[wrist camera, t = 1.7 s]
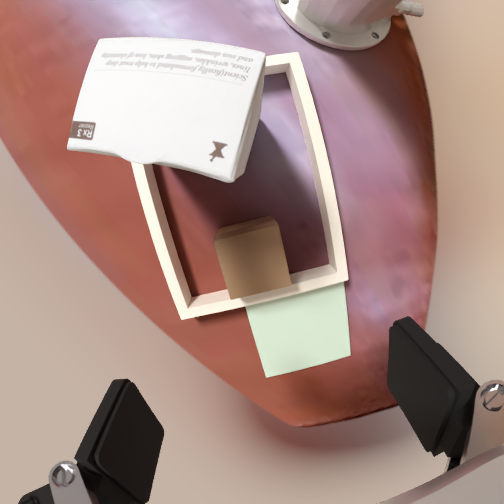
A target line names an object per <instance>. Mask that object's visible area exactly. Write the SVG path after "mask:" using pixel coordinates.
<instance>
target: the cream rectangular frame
mask: <svg viewBox="0 0 504 504" xmlns="http://www.w3.org/2000/svg"><path fill="white" fill-rule="evenodd" d="M283 72H286V75H287V78H288V81H289V85H290V88H291V92H292V95H293V99H294V102H295V106H296V109H297V113H298V117H299V120H300V124H301V128H302V132H303V136H304V140H305V144H306V148H307V152H308V157H309V161H310V165H311V170H312V174H313V179H314V183H315V188H316V193H317V198H318V203H319V208H320V213H321V218H322V223H323V229H324V234H325V240H326V246H327V252H328V258H329V264H328V265H324V266H320V267H316V268H312V269H309V270H305V271H301V272H297V273H293V274H289V275H290V280H291V285H292V286H288V287H284V288H280V289H276V290H272V291H267V292H263V293H259V294H255V295H250V296H246V297H242V298H237V299H233V300H231V299H230V296H229V293H228V289H226V290H222V291H217V292H213V293H209V294H204V295H200V296H195V297H192V296H191V293H190V290H189V287H188V284H187V281H186V278H185V276H184V273H183V270H182V266H181V263H180V260H179V257H178V254H177V251H176V248H175V245H174V241H173V238H172V235H171V232H170V228H169V225H168V222H167V218H166V215H165V211H164V208H163V204H162V201H161V197H160V194H159V190H158V186H157V182H156V179H155V175H154V171H153V167H152V164H138V163H134V162H131V164H132V168H133V172H134V176H135V180H136V183H137V187H138V191H139V195H140V198H141V202H142V205H143V209H144V212H145V216H146V219H147V222H148V226H149V229H150V232H151V235H152V239H153V242H154V245H155V248H156V251H157V254H158V257H159V260H160V263H161V266H162V269H163V272H164V275H165V277H166V280H167V283H168V286H169V289H170V291H171V294H172V297H173V299H174V302H175V305H176V307H177V310H178V312H179V315H180V318H181V320H183V319H188V318H193V317H198V316H203V315H207V314H212V313H217V312H222V311H226V310H231V309H235V308H240V307H244V306H249V305H253V304H257V303H261V302H266V301H270V300H274V299H278V298H282V297H286V296H290V295H294V294H298V293H302V292H306V291H310V290H313V289H317V288H321V287H325V286H328V285H332V284H336V283H339V282H343V281H346V280H349V279H348V271H347V263H346V256H345V249H344V242H343V236H342V229H341V223H340V217H339V212H338V206H337V201H336V195H335V190H334V185H333V180H332V175H331V171H330V166H329V161H328V157H327V153H326V148H325V144H324V140H323V136H322V132H321V128H320V124H319V120H318V116H317V113H316V109H315V105H314V102H313V98H312V95H311V91H310V88H309V85H308V81H307V78H306V75H305V72H304V69H303V65H302V62H301V59H300V56H299V53H298V52H293V53H285V54H278V55H271V56H266V66H265V75H271V74H277V73H283Z"/></svg>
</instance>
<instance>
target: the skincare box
mask: <svg viewBox="0 0 504 504" xmlns="http://www.w3.org/2000/svg"><path fill="white" fill-rule="evenodd" d="M265 66H266V53H264V52H260V51H256V50H252V49H247V48H241V47H236V46H230V45H225V44H219V43H212V42H204V41H196V40H187V39H174V38H154V37H126V38H105V39H100V40H99V41H98V43H97V46H96V48H95V50H94V53H93V55H92V58H91V61H90V63H89V66H88V69H87V72H86V75H85V78H84V82H83V85H82V88H81V91H80V95H79V98H78V102H77V105H76V109H75V113H74V117H73V122H72V127H71V132H70V136H69V141H68V145H67V149H68V150H73V151H82V152H90V153H97V154H103V155H109V156H115V157H121V158H124V159H125V160H127V161H130V162H134V163H138V164H157V165H163V166H168V167H173V168H178V169H183V170H187V171H191V172H195V173H199V174H202V175H205V176H208V177H211V178H214V179H217V180H221V181H224V182H227V183H231V182H234V181H235V179H237V178H238V177H239V176H241V175H242V174H244V172H245V168H246V164H247V161H248V157H249V154H250V150H251V147H252V143H253V140H254V136H255V133H256V129H257V126H258V122H259V119H260V113H261V104H262V95H263V86H264V77H265Z"/></svg>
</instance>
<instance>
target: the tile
mask: <svg viewBox="0 0 504 504" xmlns="http://www.w3.org/2000/svg"><path fill="white" fill-rule="evenodd" d="M245 308H246V311H247V314H248V318H249V321H250V325H251V328H252V332H253V335H254V338H255V342H256V345H257V348H258V352H259V355H260V358H261V362H262V365H263V368H264V372H265V375H266V377H271V376H276V375H280V374H284V373H289V372H293V371H297V370H301V369H305V368H309V367H312V366H316V365H320V364H323V363H327V362H330V361H334V360H337V359H341V358H344V357H347V356H350V355H351V353H350V339H349V327H348V316H347V306H346V297H345V288H344V281H343V282H339V283H336V284H332V285H328V286H325V287H321V288H317V289H313V290H310V291H306V292H302V293H298V294H294V295H290V296H286V297H282V298H278V299H274V300H270V301H266V302H261V303H257V304H253V305H249V306H245Z"/></svg>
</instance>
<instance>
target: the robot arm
mask: <svg viewBox="0 0 504 504" xmlns="http://www.w3.org/2000/svg"><path fill="white" fill-rule="evenodd" d="M274 1H275V4H276V7H277V9H278V11H279V12H280V14H281V16H282V17H283V18H284V19H285V20H286V21H287V23H288V24H289V25H291V26H292V27H293V28H294V29H295V30H297V31H298V32H299V33H301V34H302V35H304V36H306V37H307V38H309V39H311V40H313V41H315V42H317V43H320V44H323V45H326V46H328V47H332V48H337V49H341V50H364V49H367V48H370V47H373V46H374V45H376V44H378V43H379V42H380V41H381V40H383V39H384V38H385V37H386V35H387V34H388V32H389V29H390V26H391V17H392V16H393V15H396V16H399V15H401V13H402V14H406V15H410V16H416V17H421V16H422V15H423V13H424V12H423V11H424V10H423V7H422V5H421V4H419V3H416V2H412V1H407V0H405V1H404V0H274ZM324 37H325V38H324ZM387 383H388V387H389V389H390V391H391V393H392V394H393V396H394V398H395V399H396V401H397V403H398V404H399V406H400V407H401V409H402V411H403V412H404V414H405V416H406V418H407V419H408V421H409V423H410V424H411V426H412V428H413V430H414V431H415V433H416V435H417V436H418V438H419V440H420V442H421V443H422V445H423V447H424V449H425V450H426V451H427V452H430V451H431V452H432V454H433V456H434V457H435V456H436V455H438V454H440V453H442V452H445V454H446V455H447V457H448V461H447V464H446V468H445V471H444V474H442V475H440V476H438V477H437V478H435V479H433V480H431V481H429V482H427V483H425V484H423V485H420V486H418V487H416V488H414V489H412V490H409V491H407V492H405V493H402V494H400V495H398V496H395V497H393V498H390V499H388V500H385V501H383V502H380V503H377V504H504V381H501V380H492V381H489V382H486V383H484V384H483V385H482V386H479V385H478V383H477V382H476V381H475V380H474V379H473V378H472V377H471V376H470V375H469V374H468V373H467V372H466V371H465V369H464V368H463V367H462V366H461V365H460V364H459V363H458V362H457V361H456V360H455V359H454V358H453V357H452V356H451V355H450V354H449V353H448V352H447V351H446V350H445V349H444V348H443V347H442V346H441V345H440V344H439V343H436V342H435V341H434V340H433V339H432V338H431V337H430V336H429V335H428V334H427V333H426V332H425V331H424V330H423V329H422V328H421V327H420V326H419V325H418V324H417V323H416V322H415V321H414V320H413V319H412V318H411V317H409V316H407V317H405V318H402V319H399V320H397V321H395V322H394V323H393V326H392V327H390V329H389V359H388V376H387ZM163 437H164V429H163V427H162V425H161V424H160V422H159V421H158V420H157V418H156V416H155V415H154V413H153V412H152V411H151V409H150V407H149V406H148V404H147V403H146V401H145V400H144V398H143V397H142V395H141V393H140V392H139V390H138V389H137V387H136V385H135V384H134V383H133V382H131V381H130V380H128V379H117V380H113V381H112V383H111V385H110V387H109V389H108V390H107V393H106V394H105V396H104V398H103V400H102V402H101V404H100V406H99V408H98V410H97V412H96V414H95V416H94V418H93V420H92V422H91V424H90V426H89V428H88V430H87V432H86V434H85V436H84V438H83V440H82V442H81V444H80V446H79V448H78V451H77V453H76V455H75V457H74V458H75V459H76V460H77V461H78V462H77V464H74V463H73V462H71V461H62V462H59V463H58V464H56V465H55V466H54V467H53V468H52V469H51V471H50V474H49V484H47V485H45V486H43V487H41V488H39V489H36V490H34V491H32V492H30V493H28V494H26V495H24V496H23V497H22V498H21V499H20V501H19V503H18V504H145V503H147V502H148V501H149V498H150V493H151V489H152V483H153V479H154V475H155V471H156V466H157V462H158V458H159V453H160V449H161V445H162V441H163Z"/></svg>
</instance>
